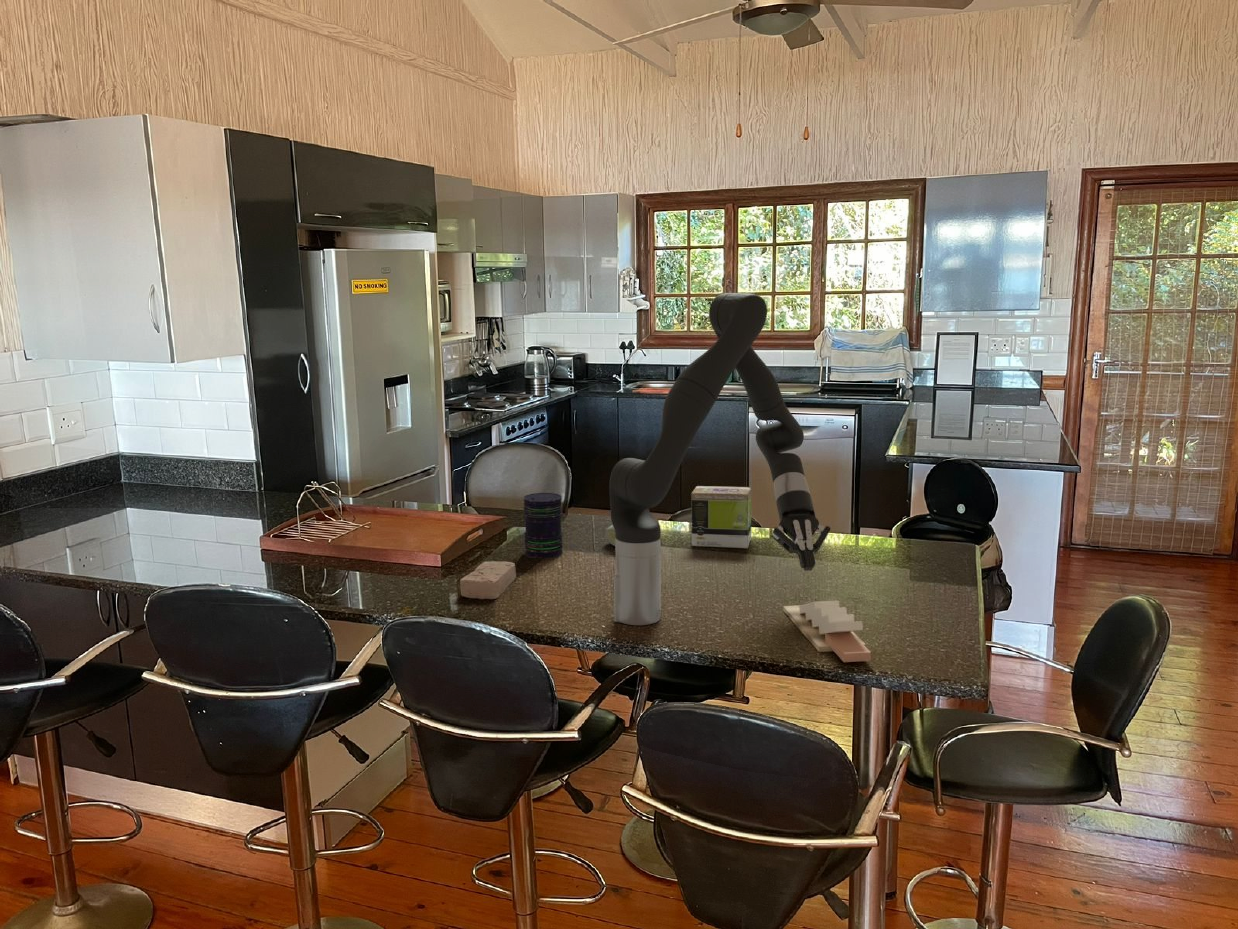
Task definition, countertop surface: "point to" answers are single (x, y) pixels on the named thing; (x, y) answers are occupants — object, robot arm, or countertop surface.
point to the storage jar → (543, 525)
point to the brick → (488, 580)
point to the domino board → (810, 628)
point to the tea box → (721, 516)
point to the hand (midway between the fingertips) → (809, 568)
